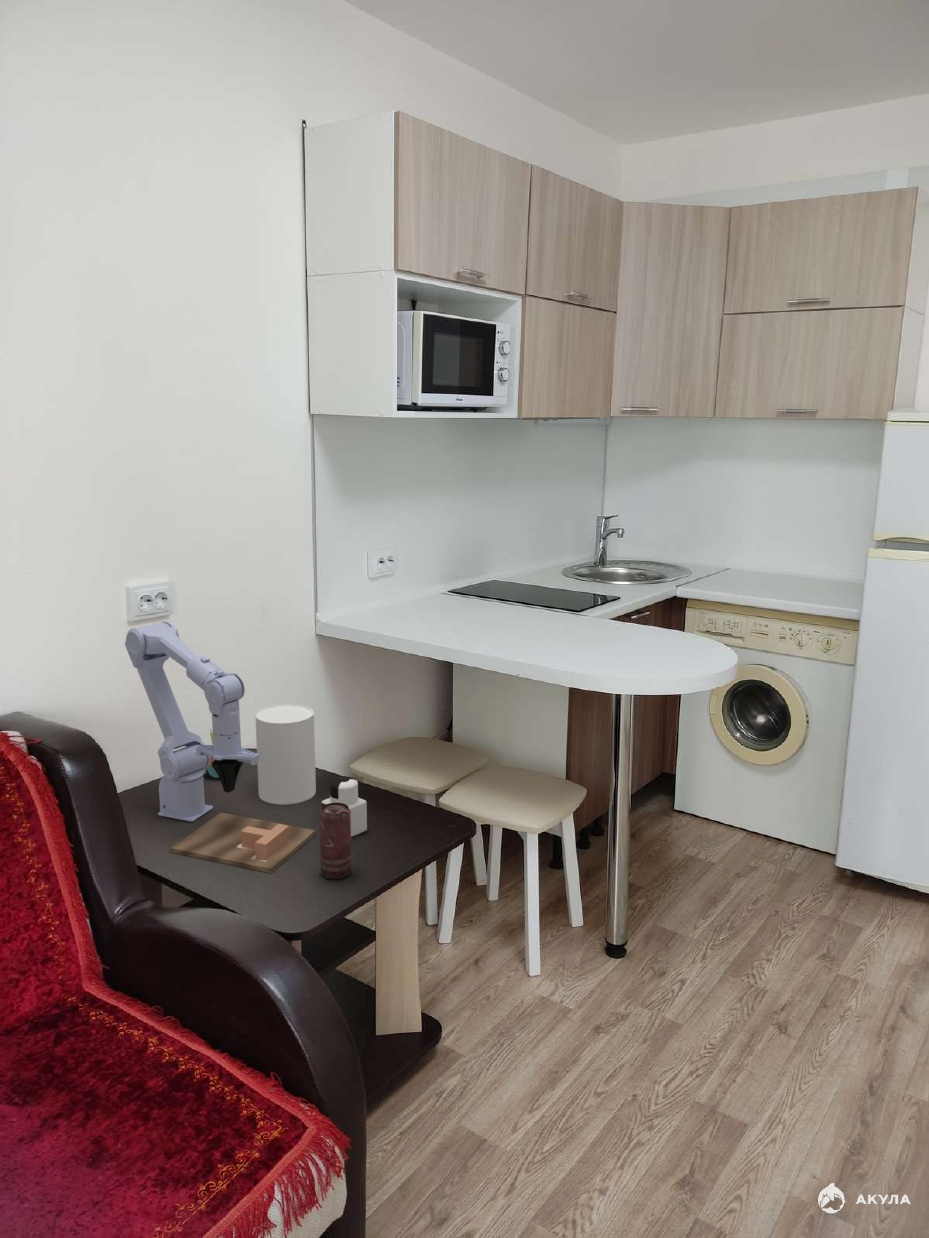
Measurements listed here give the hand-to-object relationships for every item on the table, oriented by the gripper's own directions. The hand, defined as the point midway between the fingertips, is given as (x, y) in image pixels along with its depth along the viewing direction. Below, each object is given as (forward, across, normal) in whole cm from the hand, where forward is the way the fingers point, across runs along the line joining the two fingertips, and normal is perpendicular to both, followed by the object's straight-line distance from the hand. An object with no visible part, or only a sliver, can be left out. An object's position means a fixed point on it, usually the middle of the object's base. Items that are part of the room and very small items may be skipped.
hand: (229, 790), depth 196 cm
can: (+10, +30, -8) cm, 32 cm away
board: (+9, +6, -4) cm, 12 cm away
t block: (+8, +11, -6) cm, 15 cm away
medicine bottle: (+10, +23, +9) cm, 26 cm away
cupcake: (+10, -20, +25) cm, 33 cm away
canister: (+10, +1, +22) cm, 24 cm away
